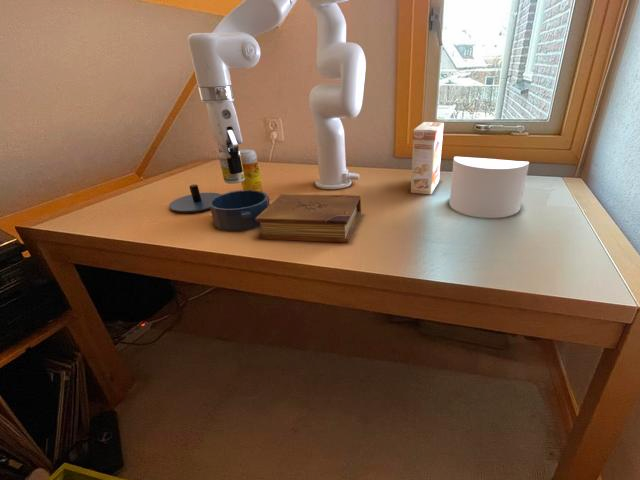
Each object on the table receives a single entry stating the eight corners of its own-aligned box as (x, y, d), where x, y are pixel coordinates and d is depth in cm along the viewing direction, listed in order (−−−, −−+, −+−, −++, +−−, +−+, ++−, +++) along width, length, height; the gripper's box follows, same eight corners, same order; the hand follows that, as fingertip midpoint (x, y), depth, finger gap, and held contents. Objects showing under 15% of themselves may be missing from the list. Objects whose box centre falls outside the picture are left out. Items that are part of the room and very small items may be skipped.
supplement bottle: (231, 185, 95) (223, 147, 90) (220, 181, 98) (211, 144, 93) (249, 180, 99) (242, 143, 94) (237, 176, 102) (230, 140, 97)
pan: (262, 203, 115) (259, 184, 112) (279, 227, 99) (276, 206, 96) (210, 212, 110) (205, 193, 107) (219, 239, 93) (213, 217, 90)
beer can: (258, 201, 117) (250, 153, 109) (241, 200, 118) (231, 152, 110) (266, 195, 122) (258, 148, 114) (249, 194, 123) (241, 148, 115)
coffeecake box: (431, 194, 117) (436, 130, 107) (409, 192, 120) (412, 129, 109) (440, 181, 129) (444, 121, 119) (420, 179, 131) (423, 121, 121)
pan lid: (222, 192, 125) (218, 175, 122) (228, 208, 112) (224, 188, 109) (169, 201, 120) (164, 182, 116) (170, 218, 107) (164, 198, 104)
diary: (361, 214, 105) (360, 194, 102) (348, 243, 89) (346, 221, 86) (284, 211, 109) (282, 192, 106) (259, 238, 93) (255, 217, 90)
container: (522, 197, 112) (532, 153, 106) (516, 222, 97) (526, 171, 90) (457, 190, 120) (461, 148, 113) (441, 212, 105) (445, 165, 98)
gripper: (244, 95, 83) (258, 175, 93) (222, 91, 96) (236, 161, 105) (210, 98, 80) (228, 180, 89) (192, 93, 92) (209, 166, 101)
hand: (232, 169), depth 97 cm, fingers closed on supplement bottle, 5 cm apart
